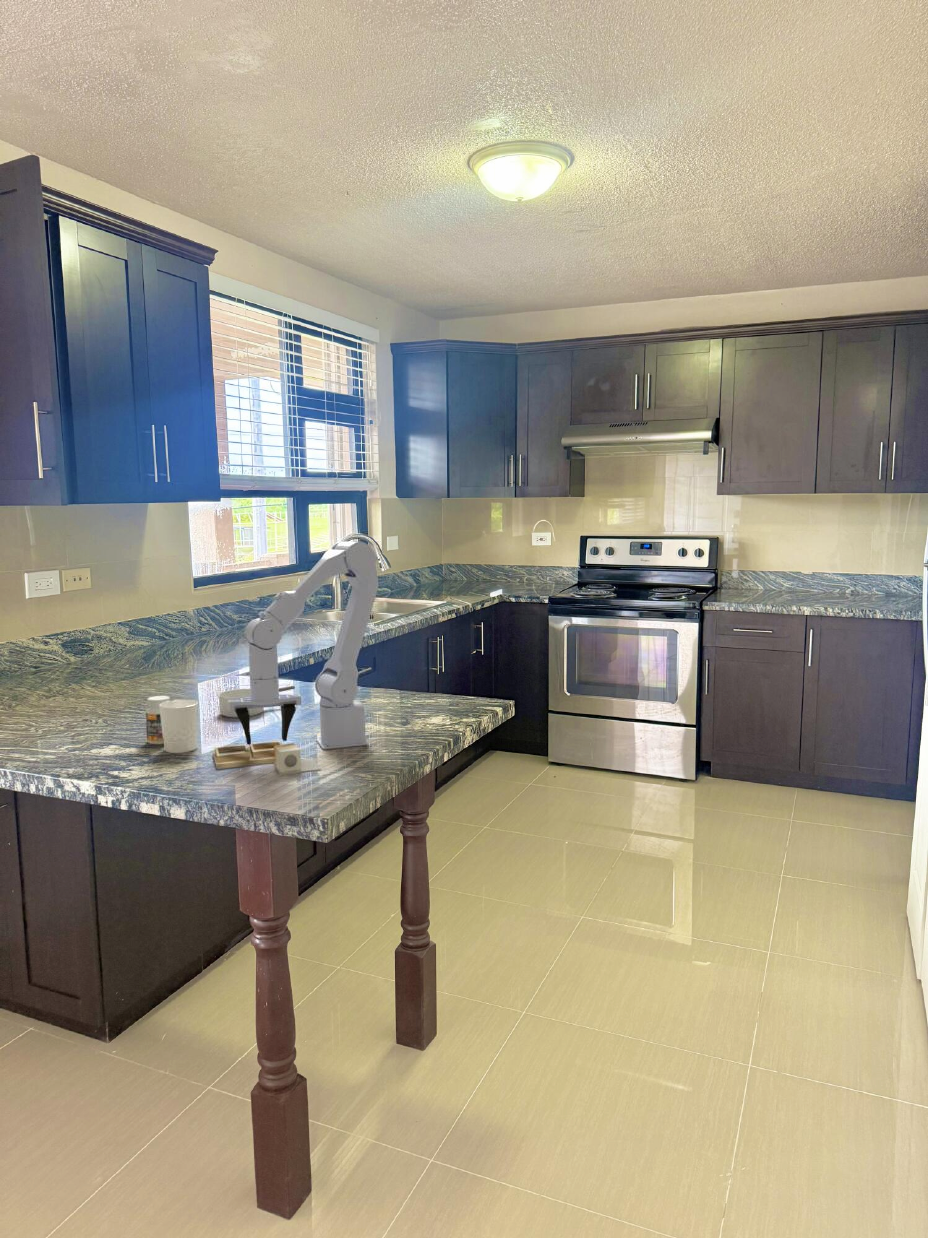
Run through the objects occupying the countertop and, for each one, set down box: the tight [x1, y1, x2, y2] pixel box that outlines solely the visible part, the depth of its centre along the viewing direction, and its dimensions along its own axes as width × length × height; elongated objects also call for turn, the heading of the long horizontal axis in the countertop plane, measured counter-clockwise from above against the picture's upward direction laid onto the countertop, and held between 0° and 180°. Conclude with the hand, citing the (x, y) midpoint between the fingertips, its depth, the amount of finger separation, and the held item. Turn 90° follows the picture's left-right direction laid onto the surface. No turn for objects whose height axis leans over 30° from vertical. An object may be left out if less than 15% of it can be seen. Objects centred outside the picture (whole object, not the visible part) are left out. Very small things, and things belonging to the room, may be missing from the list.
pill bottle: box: [145, 695, 171, 745], centre depth 186 cm, size 6×6×10 cm
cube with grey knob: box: [274, 743, 302, 772], centre depth 166 cm, size 4×4×5 cm
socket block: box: [212, 740, 283, 770], centre depth 173 cm, size 14×10×2 cm
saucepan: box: [217, 685, 296, 718], centre depth 214 cm, size 12×20×6 cm, turn 126°
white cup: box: [159, 699, 199, 754], centre depth 180 cm, size 8×8×10 cm
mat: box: [273, 757, 322, 776], centre depth 167 cm, size 8×8×1 cm
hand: (266, 741), depth 174 cm, fingers open, 7 cm apart
